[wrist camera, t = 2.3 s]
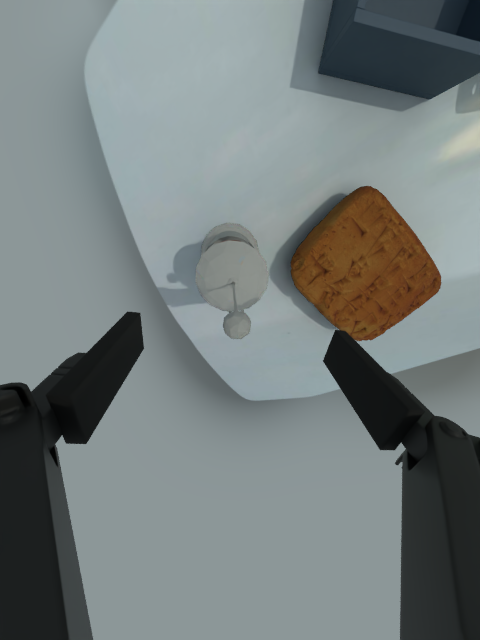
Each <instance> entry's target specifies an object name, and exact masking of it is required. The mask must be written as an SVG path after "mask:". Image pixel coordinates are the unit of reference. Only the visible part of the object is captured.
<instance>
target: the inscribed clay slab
mask: <svg viewBox="0 0 480 640" xmlns="http://www.w3.org/2000/svg"><path fill="white" fill-rule="evenodd" d="M291 268H292V269H291V275H292V279H293V281H294V285H295V286H296V288H297V289H298V290H299V291H300V292H301V293H302V294H303V295H304V297H305V298H306V299H307V300H308V301H310V302H311V303H312V304H314V306H315V307H316V308H317V309H318V310H319V311H320V313H321V314H322V315H324V316H325V317H326V318H327V319H328V320H329V321H330V322H331V323H332V324H333V325H334V326H335V327H337V328H338V329H339V330H341V331H346V332H347V333H348V334H349V335H350V336H351V337H352V338H353V339H354V340H357V341H361V340H368V339H369V340H373V339H374V338H376V337H378V336H380V335H381V334H383V333H384V332H385V331H386V330H387V329H390V328H391V327H392V326H394V325H395V324H397V323H398V322H400V321H401V320H403V319H404V318H405V317H407V316H408V315H409V314H411V313H412V312H413V311H414V310H416V309H417V308H419V307H420V306H422V305H423V304H424V303H425V302H426V301H428V300H429V299H430V298H431V297H433V296H434V295H435V294H436V293H437V292H438V291H439V289H440V286H441V275H440V273H439V271H438V269H437V267H436V265H435V263H434V261H433V260H432V258H431V257H430V255H429V254H428V252H427V251H426V249H425V248H424V246H423V245H422V243H421V242H420V240H419V239H418V237H417V236H416V234H415V233H414V232H413V231H412V229H411V228H410V227H409V225H408V224H407V223H406V222H405V220H404V219H403V218H402V217H401V216H400V215H399V213H398V212H397V211H396V210H395V209H394V208H393V206H392V205H391V204H390V202H389V201H388V200H387V198H386V197H385V196H384V195H383V194H382V193H380V192H379V191H378V190H377V189H374V188H373V187H371V186H364V187H360V188H358V189H356V190H355V191H353V192H352V193H350V194H349V195H348V196H346V197H345V198H344V199H343V200H342V201H341V202H339V203H338V204H337V205H336V206H335V207H334V208H333V209H332V210H331V211H330V212H329V213H328V215H327V216H326V217H325V218H324V219H323V220H322V221H321V222H320V223H319V224H318V225H317V226H316V227H314V228H313V230H312V231H311V232H310V233H309V234H308V236H307V237H306V239H305V240H304V241H303V242H302V243H301V244H300V246H299V247H298V248H297V249H296V253H295V254H294V256H293V257H292V260H291Z"/></svg>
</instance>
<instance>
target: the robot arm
mask: <svg viewBox="0 0 480 640" xmlns="http://www.w3.org/2000/svg"><path fill="white" fill-rule="evenodd" d="M143 349H144V346H143V336H142V326H141V317H140V313H136V312H127V313H126V314H125V315H124V316H123V317H122V318H121V319H120V320H119V321H118V322H117V323H116V324H115V325H114V326H113V327H112V328H111V329H110V330H109V331H108V332H107V333H106V334H105V335H104V336H103V337H102V338H101V339H100V340H99V341H98V342H97V343H96V344H95V345H94V346H93V347H92V348H91V349H90V350H89V351H88V352H87V353H77V354H75V355H73V356H72V357H69V358H68V359H66V360H65V361H64V362H63V363H62V364H61V365H60V366H59V367H58V368H57V369H55V370H54V371H53V372H52V373H51V375H49V376H48V377H47V378H46V379H45V380H43V381H42V382H41V383H40V384H39V385H38V386H37V387H36V388H35V389H34V390H33V391H32V392H31V391H30V389H29V387H28V386H27V385H26V384H23V383H8V384H4V385H0V640H93V637H92V631H91V627H90V620H89V615H88V610H87V605H86V600H85V594H84V589H83V584H82V578H81V573H80V568H79V562H78V557H77V552H76V547H75V541H74V536H73V530H72V525H71V520H70V515H69V509H68V504H67V499H66V493H65V488H64V484H63V478H62V473H61V467H60V462H59V456H58V451H57V447H56V445H55V443H56V442H57V441H58V440H59V438H60V437H61V435H63V437H64V440H65V442H66V443H68V444H69V443H70V444H86V443H87V442H88V440H89V439H90V437H91V435H92V433H93V431H94V430H95V429H96V427H97V425H98V424H99V422H100V420H101V419H102V417H103V415H104V414H105V412H106V410H107V409H108V407H109V405H110V404H111V402H112V400H113V399H114V397H115V395H116V394H117V392H118V390H119V389H120V387H121V385H122V384H123V382H124V380H125V379H126V377H127V376H128V374H129V372H130V371H131V369H132V367H133V365H134V364H135V362H136V361H137V359H138V357H139V356H140V354H141V352H142V351H143ZM323 362H324V363H325V365H326V366H327V368H328V370H329V371H330V373H331V374H332V376H333V377H334V379H335V380H336V382H337V384H338V385H339V387H340V388H341V390H342V391H343V393H344V394H345V396H346V397H347V399H348V401H349V402H350V404H351V405H352V407H353V408H354V410H355V412H356V413H357V414H358V416H359V418H360V419H361V421H362V423H363V424H364V426H365V427H366V429H367V430H368V432H369V433H370V435H371V437H372V438H373V440H374V441H375V443H376V444H377V446H378V447H379V449H380V450H395V449H396V448H397V446H398V445H399V444H400V443H401V442H402V444H403V445H404V447H405V448H406V450H405V451H404V452H403V453H402V454H401V456H400V457H399V458H398V459H397V460H396V462H395V464H396V465H399V463H400V462H403V466H402V540H401V542H402V545H401V612H400V615H401V616H400V640H480V438H479V437H475V436H472V435H469V434H467V433H466V431H465V430H464V429H463V428H461V427H460V426H459V425H457V424H456V423H454V422H452V421H450V420H449V419H446V418H443V417H439V416H434V415H433V414H432V413H431V412H430V411H429V410H428V409H427V408H426V407H425V406H424V405H423V404H422V403H421V402H420V401H419V400H418V399H417V398H416V397H415V396H414V395H413V394H411V392H410V391H409V390H408V389H407V388H405V386H404V385H403V384H402V383H401V382H400V381H399V380H398V379H396V378H395V377H393V376H392V375H391V374H389V373H388V372H386V371H385V370H384V369H383V368H382V367H381V366H380V365H379V364H378V363H377V362H376V361H375V360H374V359H373V358H372V357H371V356H370V355H369V354H368V353H367V352H366V351H365V350H364V349H363V348H362V347H361V346H360V345H359V344H358V343H357V342H356V341H355V340H354V339H353V338H352V337H351V336H350V335H349V334H348V333H347V332H346V331H341V330H335V332H334V335H333V337H332V340H331V342H330V345H329V347H328V350H327V352H326V355H325V357H324V360H323Z"/></svg>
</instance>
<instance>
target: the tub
mask: <svg viewBox="0 0 480 640" xmlns="http://www.w3.org/2000/svg"><path fill="white" fill-rule="evenodd" d="M318 73H320V74H324V75H329V76H333V77H337V78H342V79H346V80H350V81H354V82H359V83H363V84H367V85H372V86H376V87H380V88H384V89H389V90H393V91H397V92H401V93H406V94H410V95H414V96H419V97H423V98H427V99H431V98H433V97H435V96H437V95H439V94H441V93H443V92H445V91H447V90H448V89H450V88H452V87H454V86H456V85H458V84H459V83H461V82H463V81H465V80H467V79H469V78H471V77H472V76H474V75H476V74H478V73H480V0H334V1H333V6H332V10H331V15H330V20H329V24H328V29H327V34H326V39H325V43H324V48H323V53H322V57H321V62H320V67H319V72H318Z"/></svg>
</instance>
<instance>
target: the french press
mask: <svg viewBox="0 0 480 640" xmlns="http://www.w3.org/2000/svg"><path fill="white" fill-rule="evenodd" d="M268 278H269V273H268V268H267V264H266V261H265V259H264V258H263V257H262V255H261V254H260V253H259V250H258V245H257V241H256V239H255V238H254V236H253V235H252V234H251V232H250V231H249V230H247V229H246V228H244V227H242V226H241V225H239V224H231V223H225V224H222V225H219V226H216V227H214V228H213V229H212V230H211V231H210V232H209V233H208V234H207V235H206V237H205V239H204V242H203V244H202V248H201V258H200V260H199V262H198V264H197V267H196V284H197V287H198V289H199V292H200V294H201V296H202V297H203V298H204V299H205V300H206V301H207V302H208V303H209V304H210V305H212V306H214V307H216V308H218V309H220V310H223V311H229V314H228V315H227V316H226V317H224V322H223V328H224V331H225V334H226V335H228V336H229V337H230V338H231V339H242V338H243V337H245V336H246V335H248V334H249V332H250V326H251V321H250V318H249V317H248V315H247V314H246V313H244V309H247V308H249V307H251V306H252V305H253V304H255V303H256V302H257V301H259V300H260V298H261V297H262V295H263V294H264V292H265V290H266V289H267V283H268ZM240 310H241V311H240ZM232 311H234V312H232Z"/></svg>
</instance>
